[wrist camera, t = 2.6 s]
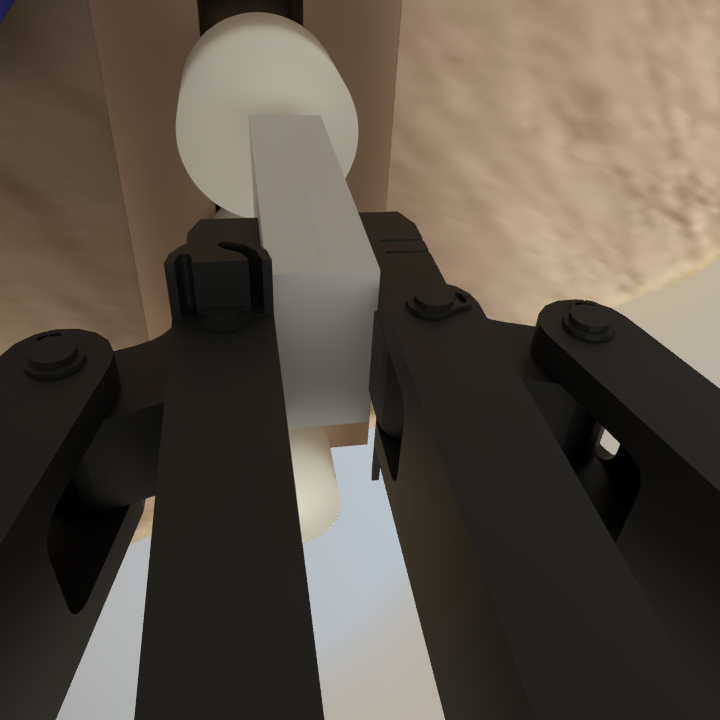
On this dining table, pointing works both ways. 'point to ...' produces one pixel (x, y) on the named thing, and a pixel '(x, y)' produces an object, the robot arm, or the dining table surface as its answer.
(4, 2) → the mug
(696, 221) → the dining table surface
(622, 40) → the dining table surface
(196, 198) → the mount
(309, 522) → the knob
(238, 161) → the knob
